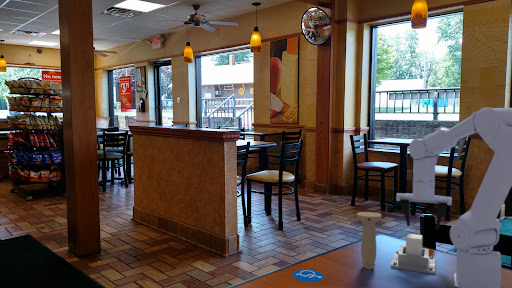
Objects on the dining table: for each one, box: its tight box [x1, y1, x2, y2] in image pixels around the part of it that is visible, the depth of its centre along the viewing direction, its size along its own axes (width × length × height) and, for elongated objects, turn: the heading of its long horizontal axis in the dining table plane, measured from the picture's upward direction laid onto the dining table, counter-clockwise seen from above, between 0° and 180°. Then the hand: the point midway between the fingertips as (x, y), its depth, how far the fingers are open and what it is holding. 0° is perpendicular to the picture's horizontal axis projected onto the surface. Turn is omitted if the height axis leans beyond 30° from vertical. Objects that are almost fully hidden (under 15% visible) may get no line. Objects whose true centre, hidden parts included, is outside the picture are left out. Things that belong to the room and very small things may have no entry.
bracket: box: [390, 245, 436, 275], centre depth 108 cm, size 11×11×4 cm
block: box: [405, 233, 423, 256], centre depth 108 cm, size 4×4×7 cm
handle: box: [356, 211, 382, 270], centre depth 105 cm, size 5×6×15 cm
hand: (422, 227), depth 111 cm, fingers open, 7 cm apart
